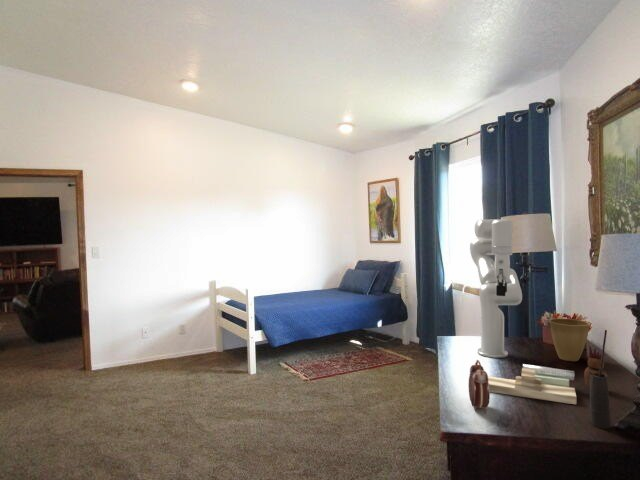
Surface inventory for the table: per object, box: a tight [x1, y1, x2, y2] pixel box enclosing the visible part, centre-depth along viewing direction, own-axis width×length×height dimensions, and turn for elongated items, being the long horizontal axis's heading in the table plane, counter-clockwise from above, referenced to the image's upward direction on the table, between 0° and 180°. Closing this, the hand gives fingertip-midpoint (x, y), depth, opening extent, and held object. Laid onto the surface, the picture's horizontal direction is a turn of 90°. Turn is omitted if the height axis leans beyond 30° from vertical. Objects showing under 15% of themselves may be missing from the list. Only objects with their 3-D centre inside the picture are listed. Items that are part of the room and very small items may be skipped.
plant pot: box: [549, 318, 591, 362], centre depth 186 cm, size 15×15×16 cm
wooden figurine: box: [583, 345, 609, 390], centre depth 151 cm, size 7×6×15 cm
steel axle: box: [522, 363, 575, 381], centre depth 154 cm, size 16×3×3 cm, turn 63°
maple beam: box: [488, 367, 577, 405], centre depth 149 cm, size 8×28×7 cm, turn 64°
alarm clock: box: [468, 359, 491, 413], centre depth 137 cm, size 11×5×15 cm, turn 170°
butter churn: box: [588, 329, 612, 430], centre depth 125 cm, size 9×10×28 cm
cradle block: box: [535, 374, 570, 387], centre depth 153 cm, size 7×11×4 cm, turn 63°
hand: (501, 293), depth 173 cm, fingers open, 9 cm apart
